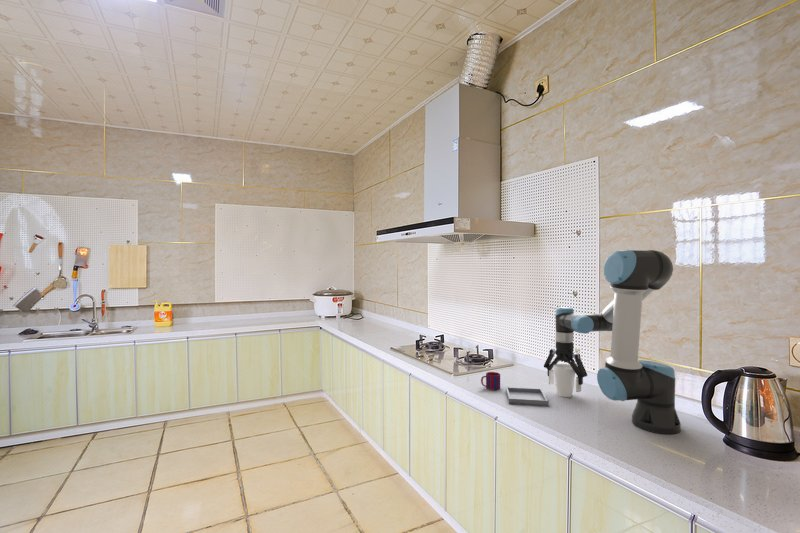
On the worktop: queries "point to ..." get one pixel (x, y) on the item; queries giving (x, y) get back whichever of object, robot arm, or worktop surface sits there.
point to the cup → (492, 380)
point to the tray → (526, 396)
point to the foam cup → (564, 379)
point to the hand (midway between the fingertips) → (564, 387)
